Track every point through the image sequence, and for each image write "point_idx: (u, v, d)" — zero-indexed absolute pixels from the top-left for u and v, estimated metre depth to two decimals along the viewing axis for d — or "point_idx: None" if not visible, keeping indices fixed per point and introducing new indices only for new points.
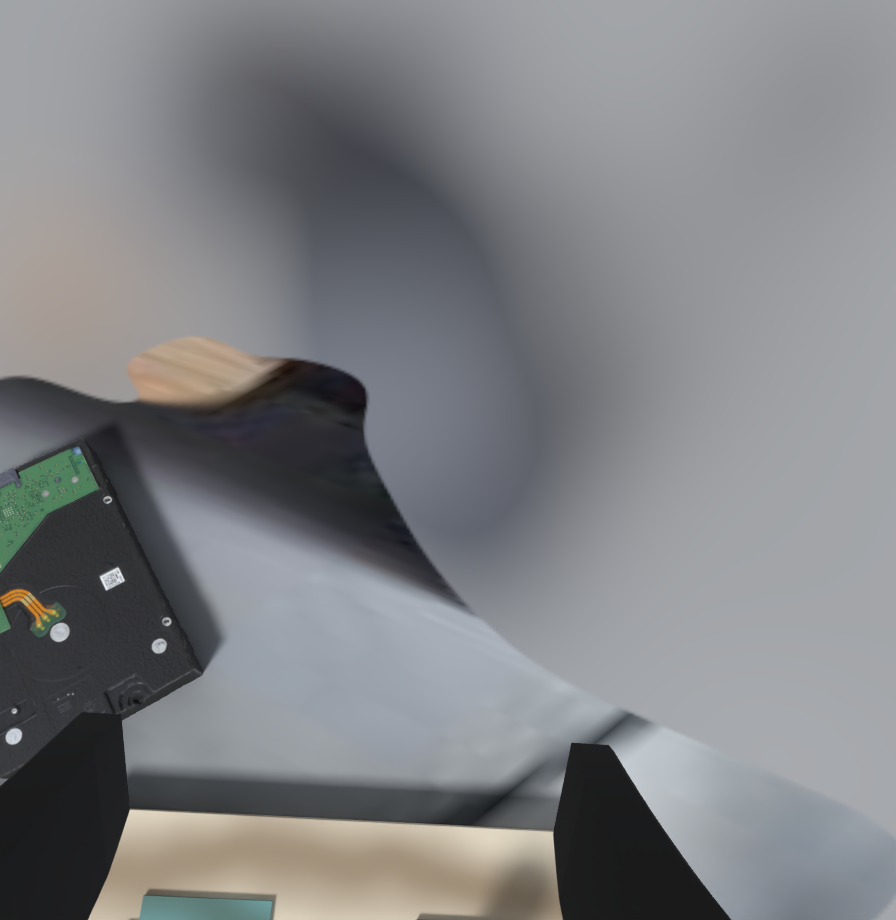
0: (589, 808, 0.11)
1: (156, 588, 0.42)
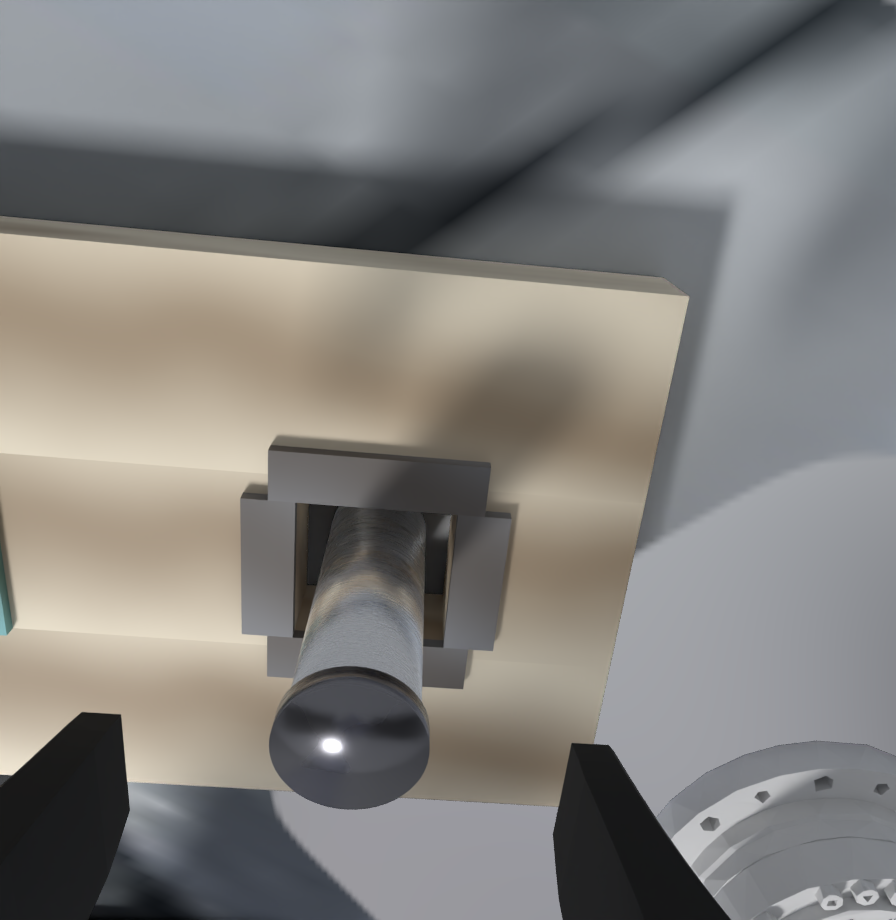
0: (589, 808, 0.11)
1: None
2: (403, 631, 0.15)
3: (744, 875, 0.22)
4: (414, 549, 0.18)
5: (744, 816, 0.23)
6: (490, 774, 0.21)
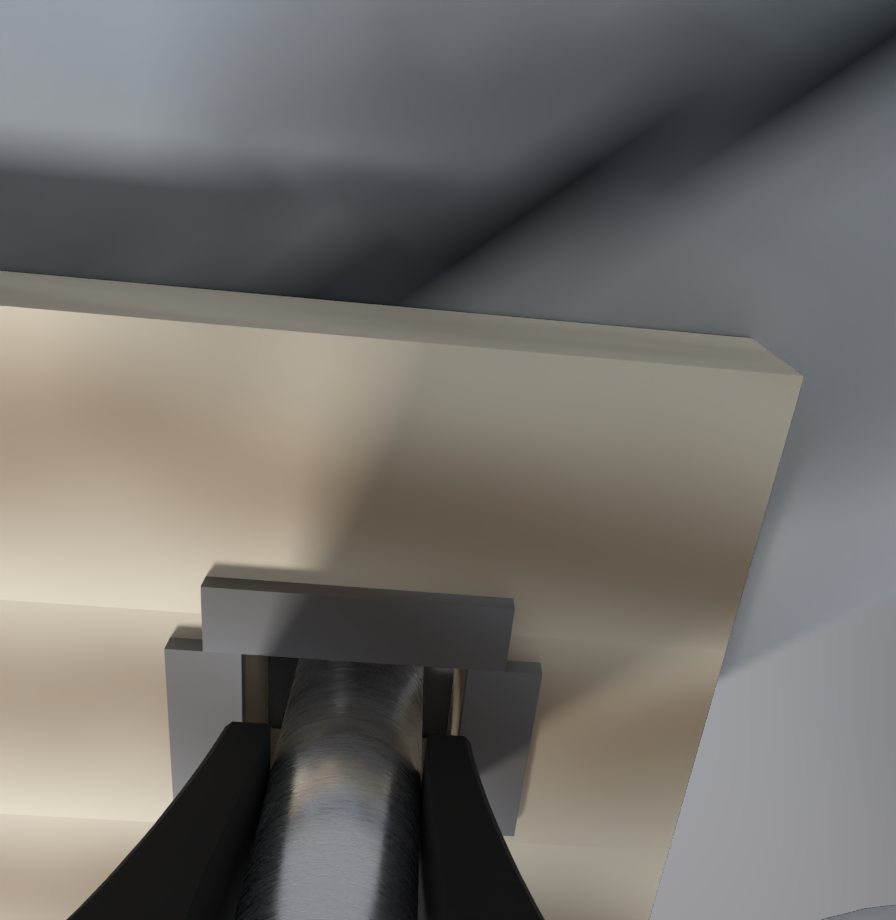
0: (428, 799, 0.11)
1: None
2: (389, 883, 0.10)
3: None
4: (408, 710, 0.13)
5: None
6: None
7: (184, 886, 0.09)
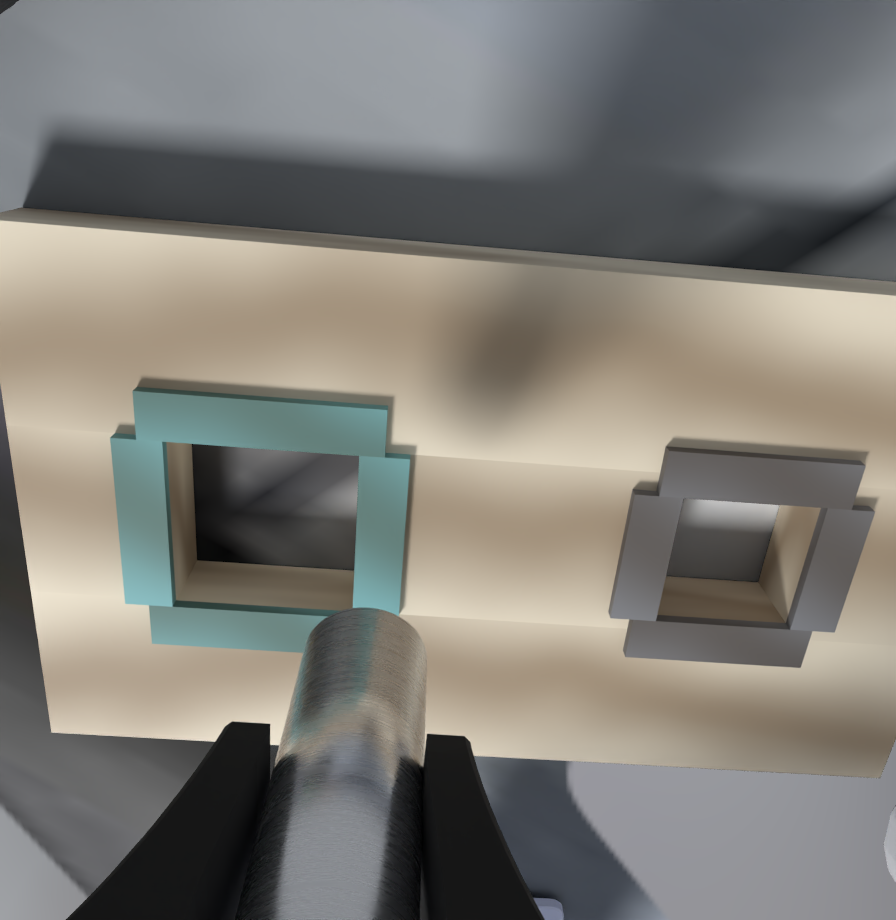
0: (429, 799, 0.11)
1: None
2: (391, 880, 0.10)
3: None
4: (410, 708, 0.13)
5: None
6: (804, 747, 0.23)
7: (183, 886, 0.09)
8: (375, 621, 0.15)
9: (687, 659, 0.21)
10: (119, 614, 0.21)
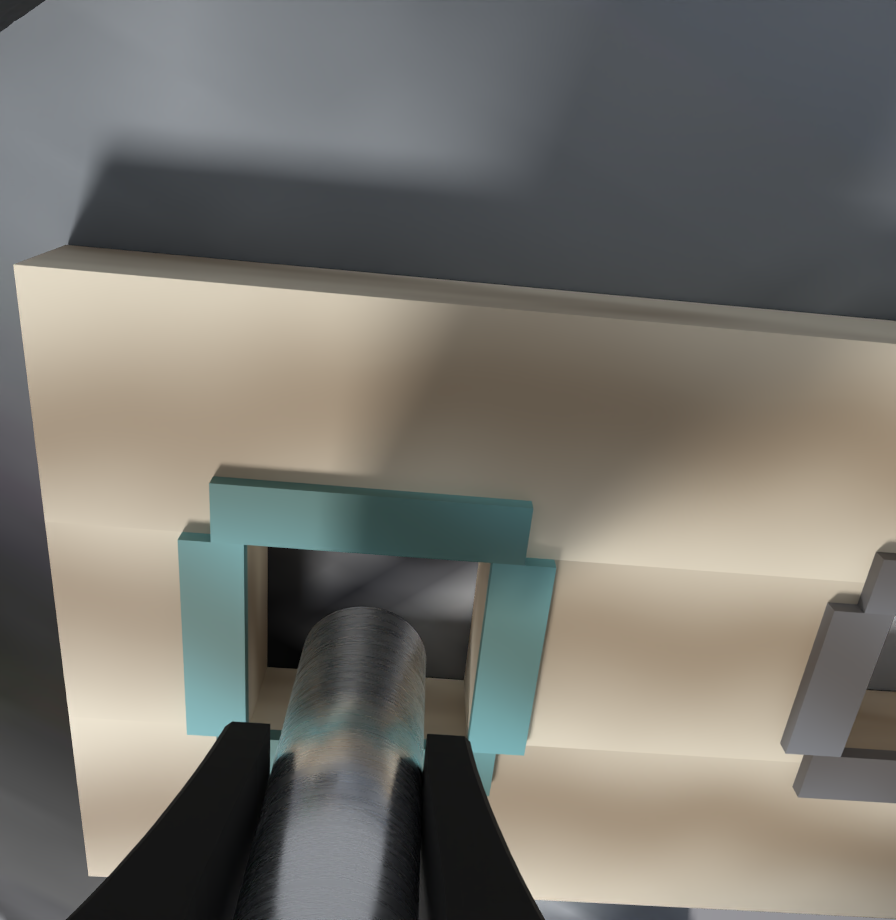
0: (429, 798, 0.11)
1: None
2: (390, 879, 0.10)
3: None
4: (409, 707, 0.13)
5: None
6: None
7: (184, 886, 0.09)
8: (373, 621, 0.15)
9: (872, 800, 0.18)
10: (177, 744, 0.17)
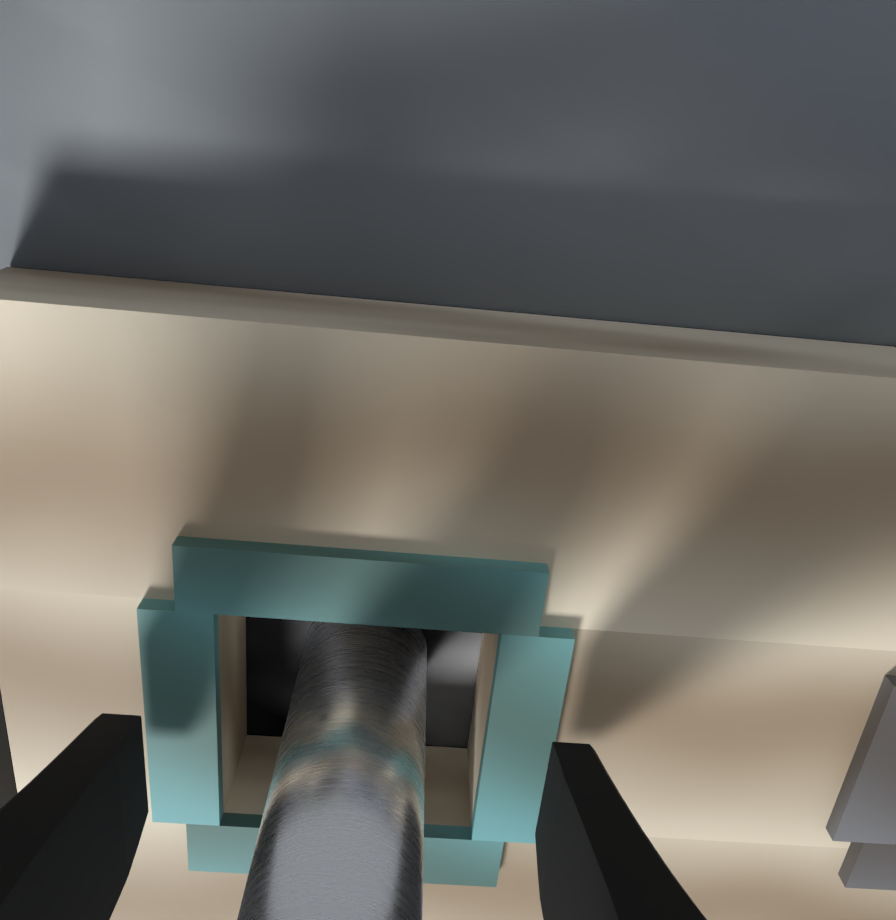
0: (568, 807, 0.11)
1: None
2: (394, 860, 0.10)
3: None
4: (411, 696, 0.14)
5: None
6: None
7: (6, 877, 0.09)
8: None
9: None
10: (143, 830, 0.15)
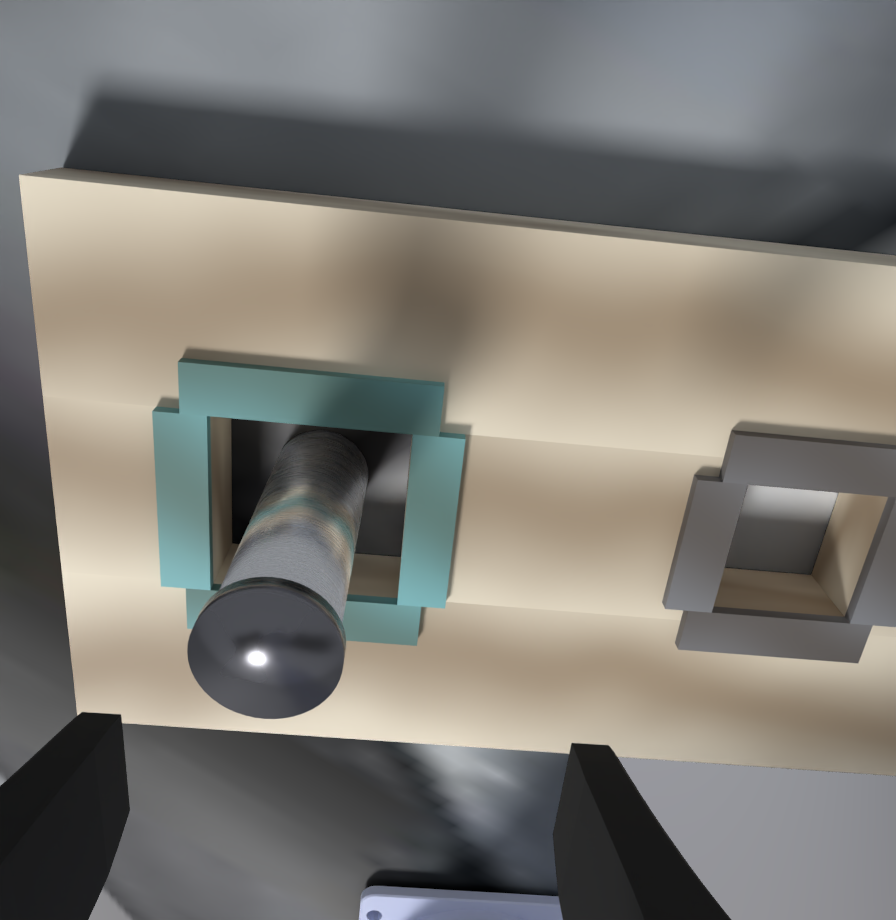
0: (589, 808, 0.11)
1: None
2: (327, 552, 0.16)
3: None
4: (350, 485, 0.19)
5: None
6: (856, 745, 0.22)
7: None
8: (328, 437, 0.20)
9: (741, 653, 0.21)
10: (153, 597, 0.20)
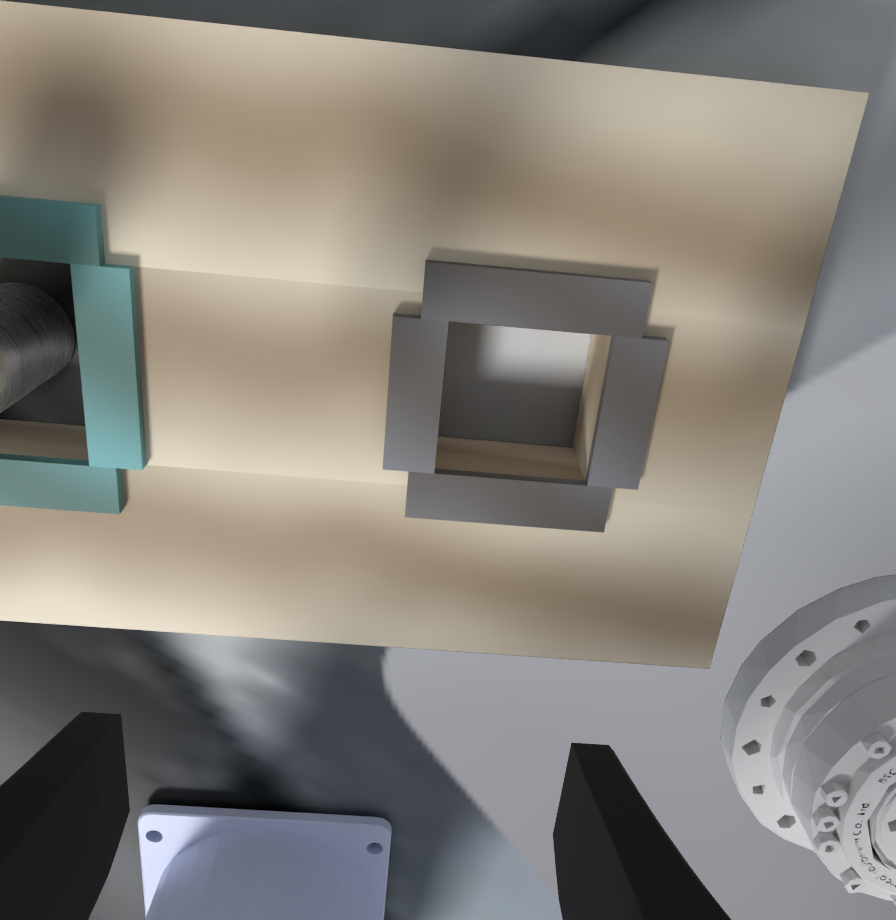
0: (589, 808, 0.11)
1: None
2: None
3: (847, 703, 0.21)
4: (15, 326, 0.17)
5: (842, 649, 0.22)
6: (621, 630, 0.21)
7: None
8: (17, 286, 0.19)
9: (475, 521, 0.19)
10: None
